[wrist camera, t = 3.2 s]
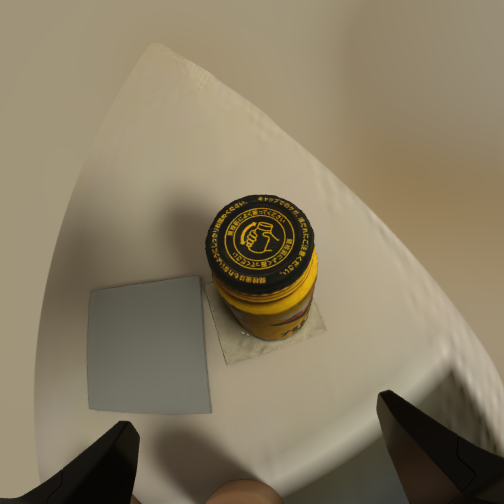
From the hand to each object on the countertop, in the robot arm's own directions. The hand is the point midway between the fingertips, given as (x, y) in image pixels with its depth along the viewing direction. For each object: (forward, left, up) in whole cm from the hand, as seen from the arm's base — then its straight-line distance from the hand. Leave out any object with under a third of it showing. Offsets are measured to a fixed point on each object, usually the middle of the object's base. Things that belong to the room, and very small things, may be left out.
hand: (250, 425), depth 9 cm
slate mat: (+10, +7, -13) cm, 18 cm away
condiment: (+7, -4, -14) cm, 16 cm away
